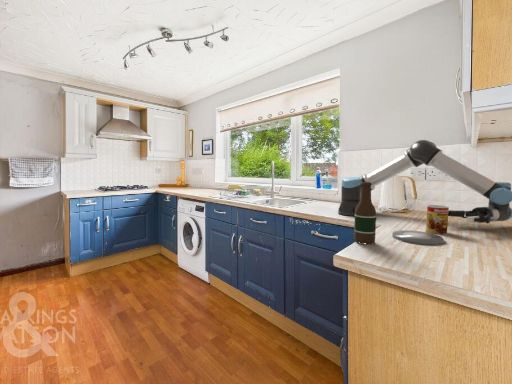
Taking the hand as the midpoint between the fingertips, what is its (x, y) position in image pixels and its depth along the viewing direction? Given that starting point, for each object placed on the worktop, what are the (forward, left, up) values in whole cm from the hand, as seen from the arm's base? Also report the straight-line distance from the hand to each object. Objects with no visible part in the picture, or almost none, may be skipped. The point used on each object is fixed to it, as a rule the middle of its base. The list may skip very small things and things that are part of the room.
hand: (451, 217), depth 116 cm
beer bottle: (-22, -45, -7) cm, 51 cm away
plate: (-8, -25, -7) cm, 27 cm away
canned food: (-4, -7, -7) cm, 11 cm away
